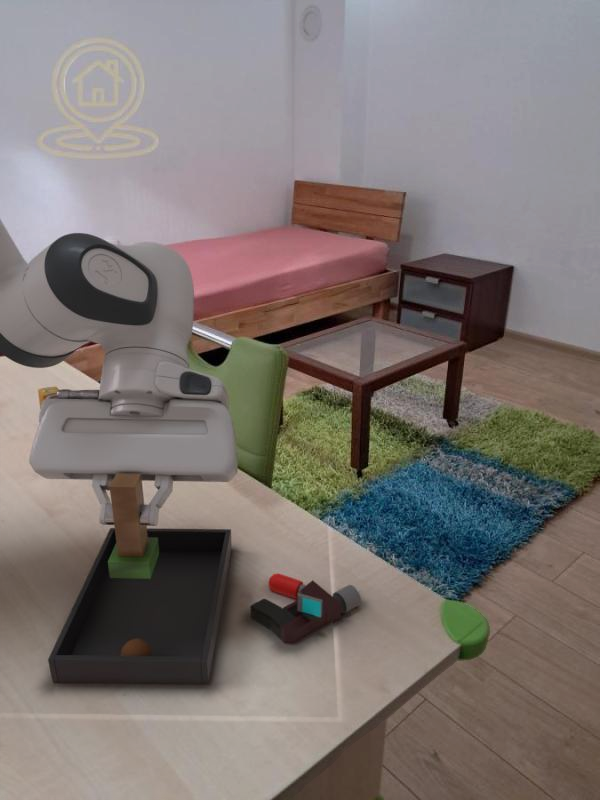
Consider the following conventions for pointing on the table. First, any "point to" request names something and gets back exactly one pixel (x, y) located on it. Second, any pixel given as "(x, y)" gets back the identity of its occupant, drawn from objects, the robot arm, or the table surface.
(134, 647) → the brown wooden ball
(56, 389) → the supplement box
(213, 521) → the table surface
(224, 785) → the table surface
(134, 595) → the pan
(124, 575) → the wooden post on base
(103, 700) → the table surface
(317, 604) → the toy gun
